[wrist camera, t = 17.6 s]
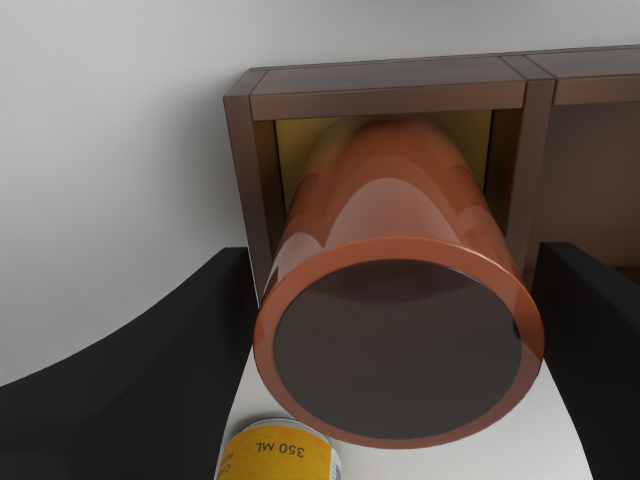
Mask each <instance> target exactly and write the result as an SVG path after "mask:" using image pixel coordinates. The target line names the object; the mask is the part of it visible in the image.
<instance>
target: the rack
mask: <svg viewBox="0 0 640 480" xmlns="http://www.w3.org/2000/svg"><path fill="white" fill-rule="evenodd" d="M223 102H224V108H225V114H226V120H227V125H228V131H229V137H230V142H231V148H232V154H233V159H234V165H235V171H236V176H237V182H238V188H239V193H240V199H241V205H242V210H243V216H244V222H245V228H246V233H247V239H248V245H249V250H250V256H251V262H252V267H253V273H254V279H255V284H256V290H257V296H258V301H259V307H260V304H261V300H262V297H263V294H264V290H265V287H266V284H267V280H268V277H269V273H270V270H271V267H272V263H273V260H274V257H275V253H276V250H277V246H278V243H279V240H280V236H281V233H282V230H283V226H284V223H285V219H286V216H287V213H288V209H289V206H290V202H291V199H292V196H293V192H294V189H295V186H296V182H297V179H298V175H299V172H300V169H301V165H302V162H303V160H304V157H305V155H306V153H307V151H308V149H309V148H310V146H311V144H312V143H313V142H314V140H315V139H316V138H317V137H318V135H319V134H320V133H321V132H323V131H324V130H325V129H326V128H327V127H328V126H329V125H331V124H332V123H333V122H335V121H336V120H338V119H340V118H342V117H352V116H372V115H393V114H413V113H423V114H426V115H428V116H430V117H431V118H433V119H435V120H436V121H438V122H439V123H441V124H442V125H443V126H444V127H445V128H447V129H448V130H449V131H450V133H451V134H452V135H453V136H454V137H455V138H456V140H457V141H458V143H459V144H460V146H461V148H462V150H463V152H464V154H465V156H466V158H467V160H468V162H469V164H470V167H471V169H472V171H473V173H474V175H475V177H476V179H477V181H478V184H479V186H480V188H481V190H482V192H483V194H484V196H485V198H486V200H487V203H488V205H489V207H490V209H491V211H492V213H493V215H494V217H495V219H496V222H497V224H498V226H499V228H500V230H501V232H502V234H503V236H504V238H505V241H506V243H507V245H508V247H509V249H510V251H511V253H512V255H513V258H514V260H515V262H516V264H517V266H518V268H519V270H520V272H521V274H522V277H523V279H524V281H525V283H526V285H527V287H528V289H529V291H530V293H531V289H532V283H533V278H534V273H535V267H536V262H537V257H538V251H539V246H540V242H558V241H567V242H569V243H571V244H573V245H575V246H576V247H578V248H580V249H581V250H583V251H584V252H586V253H587V254H589V255H591V256H592V257H594V258H595V259H597V260H598V261H600V262H601V263H603V264H604V265H606V266H607V267H609V268H610V269H612V270H614V271H615V272H617V273H618V274H620V275H621V276H623V277H624V278H626V279H627V280H629V281H631V282H632V283H634V284H635V285H637V286H639V287H640V45H624V46H607V47H591V48H574V49H558V50H542V51H525V52H509V53H492V54H476V55H459V56H443V57H427V58H410V59H394V60H377V61H361V62H344V63H328V64H312V65H295V66H279V67H262V68H251V69H249V70H248V71H247V72H246V73H245V74H244V75H243V76H242V77H241V79H240V80H239V81H238V82H237V83H236V84H235V85H234V86H233V87H232V88H231V89H230V90H229V91H228V92H227V93H226V94H225V95H224V96H223Z"/></svg>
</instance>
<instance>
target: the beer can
mask: <svg viewBox="0 0 640 480" xmlns="http://www.w3.org/2000/svg"><path fill="white" fill-rule="evenodd" d="M216 480H341V462H340V459H339V456H338V454H337V453H336V451H335V450H334V449H333V448H332V447H331V446H330V443H329V442H328V440H327V439H326V437H325V436H324V435H323V434H322V433H320V432H317V431H315V430H314V429H312V428H310V427H308V426H306V425H305V424H303V423H302V422H299V421H296V420H291V419H284V418H272V419H265V420H260V421H257V422H255V423H252V424H251V425H249V426H247V427H246V428H245V429H244V430H243V431H242V432H240V433H238V434H237V435H235V436H234V437H233V438H232V439H231V440H230V441H229V442H228V443H227V445H226V447H225V450H224V454H223V457H222V461H221V464H220V468H219V471H218V475H217V478H216Z"/></svg>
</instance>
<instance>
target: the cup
mask: <svg viewBox="0 0 640 480" xmlns="http://www.w3.org/2000/svg"><path fill="white" fill-rule="evenodd" d="M544 348H545V337H544V327H543V323H542V319H541V315H540V313H539V311H538V308H537V306H536V304H535V302H534V300H533V298H532V296H531V293H530V291H529V289H528V287H527V285H526V283H525V281H524V279H523V277H522V274H521V272H520V270H519V268H518V266H517V264H516V262H515V260H514V258H513V255H512V253H511V251H510V249H509V247H508V245H507V243H506V241H505V238H504V236H503V234H502V232H501V230H500V228H499V226H498V224H497V222H496V219H495V217H494V215H493V213H492V211H491V209H490V207H489V205H488V203H487V200H486V198H485V196H484V194H483V192H482V190H481V188H480V186H479V184H478V181H477V179H476V177H475V175H474V173H473V171H472V169H471V167H470V164H469V162H468V160H467V158H466V156H465V154H464V152H463V150H462V148H461V146H460V144H459V143H458V141H457V140H456V138H455V137H454V136H453V135H452V134H451V133H450V131H449V130H448V129H447V128H445V127H444V126H443V125H442V124H441V123H439V122H438V121H436V120H435V119H433V118H431V117H430V116H428V115H426V114H423V113H413V114H393V115H372V116H352V117H342V118H340V119H338V120H336V121H335V122H333V123H332V124H331V125H329V126H328V127H327V128H326V129H325V130H324V131H323V132H321V133H320V134H319V135H318V137H317V138H316V139H315V140H314V142H313V143H312V144H311V146H310V148H309V149H308V151H307V153H306V155H305V157H304V160H303V162H302V165H301V169H300V172H299V175H298V179H297V182H296V186H295V189H294V192H293V196H292V199H291V202H290V206H289V209H288V213H287V216H286V219H285V223H284V226H283V230H282V233H281V236H280V240H279V243H278V246H277V250H276V253H275V257H274V260H273V263H272V267H271V270H270V273H269V277H268V280H267V284H266V287H265V290H264V294H263V297H262V300H261V304H260V307H259V311H258V314H257V318H256V322H255V326H254V330H253V352H254V359H255V362H256V366H257V369H258V372H259V374H260V377H261V379H262V381H263V383H264V385H265V386H266V388H267V389H268V391H269V392H270V394H271V395H272V396H273V398H274V399H275V400H276V401H277V402H278V403H279V404H280V406H282V407H283V408H284V409H285V410H286V411H287V412H288V413H289V414H290V415H292V416H293V417H294V418H296V419H297V420H299V421H300V422H302V423H303V424H305V425H306V426H308V427H310V428H312V429H314V430H315V431H317V432H320V433H322V434H324V435H326V436H329V437H331V438H334V439H337V440H340V441H343V442H346V443H350V444H355V445H359V446H364V447H371V448H378V449H393V450H396V449H418V448H427V447H433V446H438V445H443V444H447V443H450V442H454V441H458V440H460V439H463V438H466V437H468V436H471V435H473V434H475V433H478V432H480V431H482V430H484V429H486V428H488V427H489V426H491V425H492V424H494V423H495V422H497V421H499V420H500V419H502V418H503V417H504V416H505V415H507V414H508V413H509V412H510V411H511V410H513V409H514V408H515V407H516V406H517V405H518V404H519V402H520V401H521V400H522V399H523V398H524V397H525V395H526V394H527V393H528V391H529V390H530V389H531V387H532V385H533V383H534V382H535V380H536V378H537V376H538V374H539V371H540V367H541V364H542V361H543V355H544Z"/></svg>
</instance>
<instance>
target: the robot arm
mask: <svg viewBox="0 0 640 480" xmlns="http://www.w3.org/2000/svg"><path fill="white" fill-rule="evenodd" d="M531 296H532V298H533V300H534V302H535V304H536V306H537V308H538V311H539V313H540V315H541V319H542V323H543V327H544V337H545V348H544V355H543V357H544V360H545V362H546V364H547V366H548V369H549V371H550V373H551V375H552V377H553V380H554V382H555V384H556V386H557V388H558V391H559V393H560V395H561V397H562V399H563V402H564V404H565V406H566V408H567V410H568V413H569V415H570V417H571V419H572V421H573V424H574V426H575V428H576V431H577V433H578V436H579V438H580V441H581V444H582V446H583V450H584V453H585V456H586V459H587V462H588V465H589V468H590V471H591V474H592V477H593V480H640V287H639V286H637V285H635V284H634V283H632V282H631V281H629V280H627V279H626V278H624V277H623V276H621V275H620V274H618V273H617V272H615V271H614V270H612V269H610V268H609V267H607V266H606V265H604V264H603V263H601V262H600V261H598V260H597V259H595V258H594V257H592V256H591V255H589V254H587V253H586V252H584V251H583V250H581V249H580V248H578V247H576V246H575V245H573V244H571V243H569V242H567V241H558V242H540V246H539V251H538V257H537V262H536V267H535V273H534V278H533V283H532V289H531ZM258 311H259V309H258V303H257V297H256V292H255V286H254V280H253V275H252V269H251V264H250V258H249V252H248V247H230V248H223V249H222V250H221V251H219V252H218V253H217V254H216V255H215V256H213V257H212V258H211V259H210V260H209V261H208V262H206V263H205V264H204V265H203V266H202V267H201V268H199V269H198V270H197V271H196V272H195V273H194V274H192V275H191V276H190V277H189V278H188V279H186V280H185V281H184V282H183V283H182V284H181V285H179V286H178V287H177V288H176V289H174V290H173V291H172V292H171V293H169V294H168V295H167V296H165V297H164V298H163V299H161V300H160V301H159V302H157V303H156V304H155V305H153V306H152V307H151V308H150V309H148V310H147V311H145V312H144V313H143V314H141V315H140V316H138V317H137V318H135V319H134V320H132V321H131V322H129V323H128V324H126V325H125V326H123V327H121V328H120V329H118V330H117V331H115V332H113V333H112V334H110V335H108V336H107V337H105V338H103V339H101V340H100V341H98V342H96V343H94V344H92V345H90V346H88V347H86V348H85V349H83V350H81V351H79V352H77V353H75V354H73V355H72V356H70V357H68V358H66V359H64V360H62V361H59V362H57V363H55V364H53V365H51V366H49V367H47V368H44V369H42V370H40V371H38V372H35V373H33V374H31V375H28V376H26V377H24V378H21V379H19V380H16V381H14V382H12V383H9V384H7V385H4V386H1V387H0V480H214V475H215V470H216V466H217V461H218V457H219V452H220V447H221V443H222V438H223V434H224V430H225V427H226V423H227V420H228V416H229V413H230V410H231V407H232V404H233V401H234V398H235V395H236V392H237V389H238V386H239V383H240V380H241V377H242V374H243V371H244V368H245V365H246V362H247V359H248V356H249V353H250V350H251V347H252V344H253V330H254V326H255V322H256V318H257V314H258Z"/></svg>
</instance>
